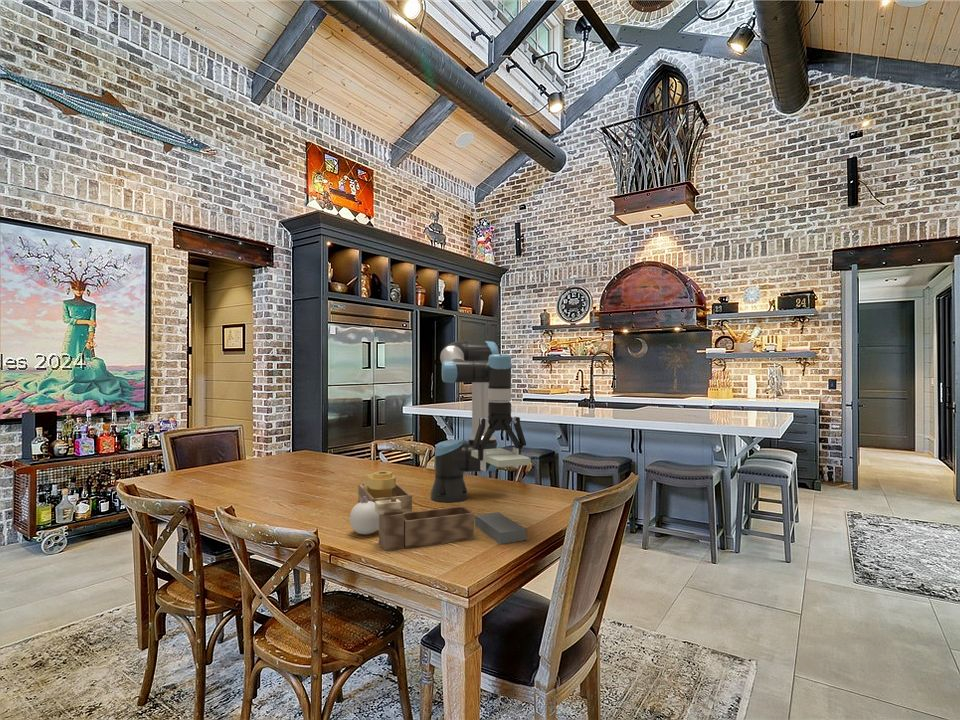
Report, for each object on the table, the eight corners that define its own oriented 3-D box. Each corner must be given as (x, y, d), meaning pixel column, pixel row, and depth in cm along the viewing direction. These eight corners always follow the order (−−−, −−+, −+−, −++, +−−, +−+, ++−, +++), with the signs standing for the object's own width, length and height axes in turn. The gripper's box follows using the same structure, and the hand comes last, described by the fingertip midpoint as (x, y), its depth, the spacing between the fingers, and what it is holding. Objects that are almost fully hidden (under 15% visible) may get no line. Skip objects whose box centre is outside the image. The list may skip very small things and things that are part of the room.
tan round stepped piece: (398, 519, 180) (398, 474, 180) (372, 523, 176) (372, 476, 176) (385, 505, 198) (385, 464, 198) (361, 508, 194) (361, 466, 195)
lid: (530, 464, 158) (530, 458, 158) (498, 467, 154) (498, 460, 154) (500, 453, 178) (500, 448, 178) (471, 455, 174) (471, 450, 174)
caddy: (394, 503, 200) (394, 480, 200) (411, 521, 177) (411, 495, 178) (358, 507, 195) (358, 483, 195) (371, 526, 172) (371, 499, 172)
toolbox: (463, 530, 168) (463, 497, 168) (474, 539, 160) (474, 504, 160) (378, 541, 157) (378, 506, 157) (385, 551, 149) (385, 514, 149)
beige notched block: (397, 508, 157) (397, 495, 157) (401, 512, 153) (401, 498, 153) (374, 511, 154) (375, 497, 154) (377, 514, 150) (377, 501, 150)
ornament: (352, 540, 158) (352, 501, 158) (347, 530, 167) (347, 494, 168) (385, 536, 162) (385, 498, 162) (378, 527, 171) (378, 491, 172)
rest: (498, 522, 177) (498, 512, 177) (526, 540, 158) (526, 529, 158) (474, 525, 173) (474, 515, 173) (500, 544, 155) (500, 532, 155)
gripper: (526, 400, 174) (525, 464, 174) (462, 401, 165) (461, 469, 165) (536, 401, 168) (536, 468, 167) (470, 403, 158) (470, 474, 158)
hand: (499, 469), depth 166 cm, fingers closed on lid, 11 cm apart
